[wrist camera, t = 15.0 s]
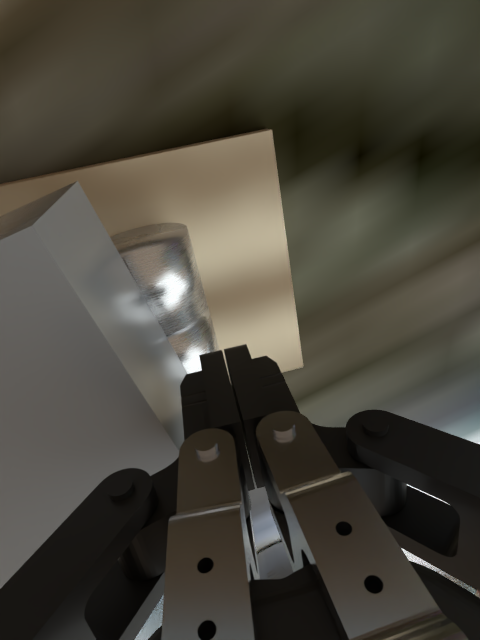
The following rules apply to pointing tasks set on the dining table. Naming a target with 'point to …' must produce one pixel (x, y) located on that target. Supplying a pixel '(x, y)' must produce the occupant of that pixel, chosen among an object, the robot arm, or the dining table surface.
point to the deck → (204, 228)
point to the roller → (171, 287)
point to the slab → (74, 370)
